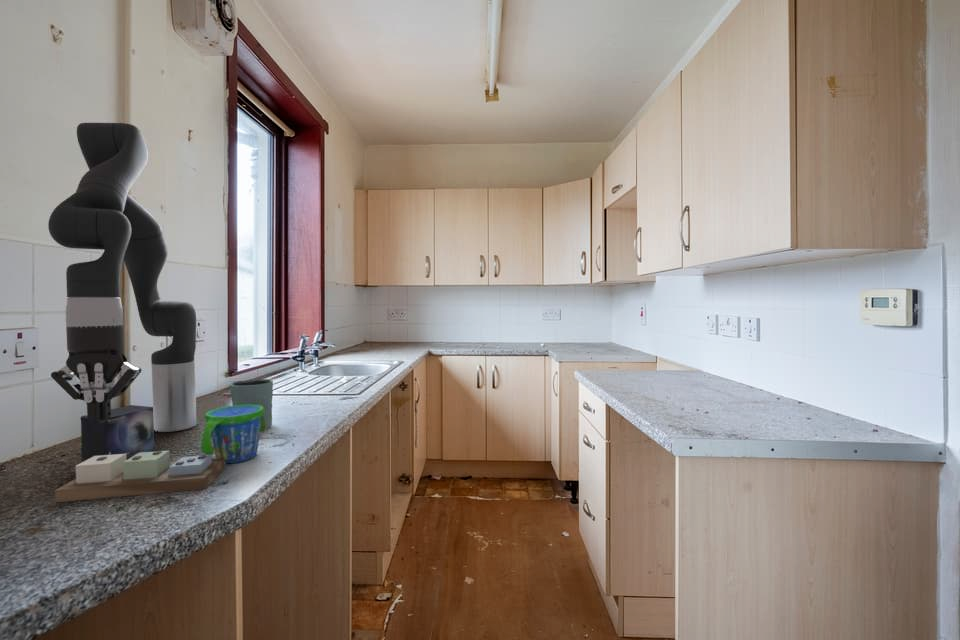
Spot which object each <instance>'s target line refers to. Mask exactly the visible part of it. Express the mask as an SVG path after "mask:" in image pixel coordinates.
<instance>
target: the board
mask: <svg viewBox="0 0 960 640" xmlns="http://www.w3.org/2000/svg"><path fill="white" fill-rule="evenodd" d="M175 462H176V461H170V466H171V465H172V464H174V463H175ZM225 469H226V463H225V458H217V459H216V458H212V465H211V466H210V467H209V468H207V469H206V470H205V471H204V472H203V473H201V474H189V475H177V476H170V475H169V469H168V470H166V471H165V472H164V473H162V474H161V475H160V476H159V477H153V478H141V479H129V480H124V473H123V474H121V475H120V476H118V477H117V478H115V479H114V480H112V481H105V482H93V483H82V484H76V478H74V479H73V480H71V481H69V482H67V483H66V484H64V485H61V486H60V487H59V488H57V489H55V490H54V494H55V503H61V502H62V503H64V502H75V501H83V500H84V501H85V500H87V501H88V500H94V499H96V500H97V499H106V498H107V499H108V498H119V497H131V496H140V495H153V494H161V493H163V494H164V493H172V492H173V493H174V492H183V491H185V492H186V491H195V490H196V491H197V490H205V489H207V488H208V487H209V486H210V485H211V483H212V482H213V481H214V480H216V478H217V477H218V476H219V475H220V474H221V473H222V472H223V471H224V470H225Z"/></svg>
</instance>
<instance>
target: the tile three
mask: <svg viewBox="0 0 960 640" xmlns="http://www.w3.org/2000/svg"><path fill="white" fill-rule="evenodd" d="M212 459H213V457H212V454H203V455H202V454H201V455H195V456H194V455H193V456H183V457H180V458H179V459H178V460H176V461H174V462H175V463H174V464H172V465H171V466H170V467H169V475H170V476H177V475H189V474H201V473H203V472H204V471H205V470H206V469H207V468H209V467H210V466H211V465H212Z"/></svg>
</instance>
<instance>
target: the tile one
mask: <svg viewBox="0 0 960 640" xmlns="http://www.w3.org/2000/svg"><path fill="white" fill-rule="evenodd" d="M126 460H127V456H126V454H114V455H101V456H93V457H92V458H90V459H88V460H86V461H84V462H82V461H81V463H78V464H76V465H75V479H76V484H82V483H93V482H105V481H112V480H114V479H115V478H117V477H118V476H120V475H121V474H123V473H124V470H123V462H124V461H126Z"/></svg>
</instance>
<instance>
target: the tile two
mask: <svg viewBox="0 0 960 640" xmlns="http://www.w3.org/2000/svg"><path fill="white" fill-rule="evenodd" d="M170 462H171V452H170V450H154V452H142V453H138V454H136V455H134V456H133V457H131V458H129V459H128V460H126V461H124V462H123V470H124V480H129V479H141V478H153V477H159V476H160V475H161V474H162V473H164V472H165V471H166V470H168V469H169V467H170Z"/></svg>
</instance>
